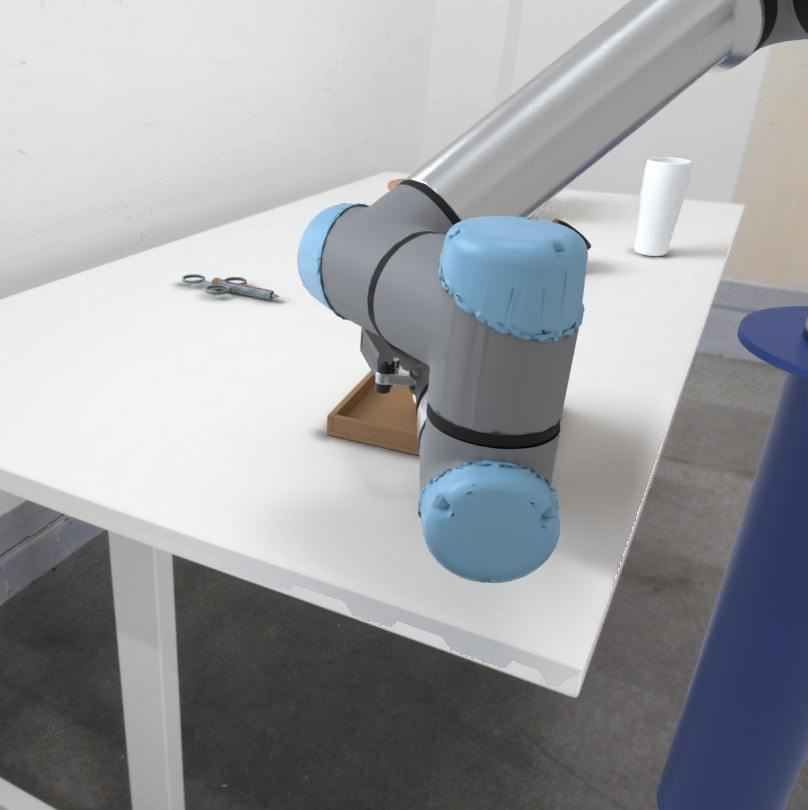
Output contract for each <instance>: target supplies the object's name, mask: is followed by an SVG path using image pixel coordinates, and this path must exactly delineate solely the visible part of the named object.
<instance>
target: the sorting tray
mask: <svg viewBox="0 0 808 810" xmlns="http://www.w3.org/2000/svg"><path fill="white" fill-rule="evenodd" d="M399 365H400V366H402V365H401V364H399ZM402 367H403V366H402ZM403 369H404V370H406V371H409V370H407V369H406V368H405V367H403ZM375 380H376V378H375V376H374V374H373V373H372V371H371V370H370V371H369V372H368V373H367V374H366V375H365V376H364V377H363V378H362V379H361V380H360V381H359V382H358V383H357V384H356V385H355V387H353V388H352V390H351V391H350V392H349V393H348V394H347V395H346V396H345V397H344V398H343V399H341V401H340V402H339V403H338V404H337V405H336V406H335V407H334V408H333V409H332V410H331V411H330V412H329V413H328V414H327V415H326V416H327V417H326V435H328V436H331V437H336V438H340V439H346V440H349V441H354V442H358V443H362V444H367V445H372V446H375V447H380V448H384V449H388V450H392V451H397V452H402V453H406V454H410V455H414V456H419V452H418V437H417V416H416V403H414V399H413V393H411V391H410V390H409V387H406V386H397V387H396V388H392V387H391V389H390V392H389V393H386V394H382V393H378V392H376V391H375Z"/></svg>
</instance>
